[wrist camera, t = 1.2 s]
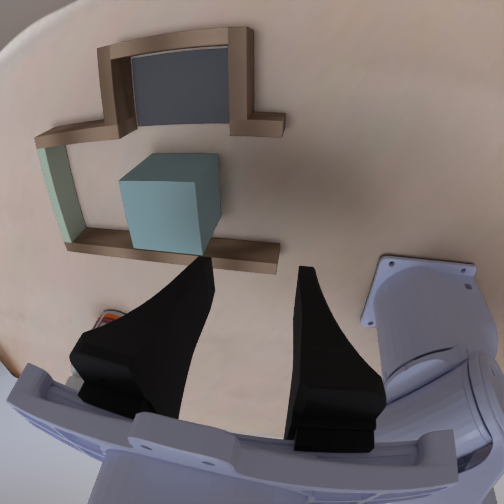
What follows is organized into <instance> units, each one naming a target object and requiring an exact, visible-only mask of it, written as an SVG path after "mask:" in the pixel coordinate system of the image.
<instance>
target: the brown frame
mask: <svg viewBox="0 0 504 504" xmlns="http://www.w3.org/2000/svg"><path fill="white" fill-rule="evenodd" d="M227 45H228V72H229V115H230V136H254V137H275V138H282V137H283V133H284V130H285V113H271V112H254V30H252V29H250V28H248V27H227V28H212V29H201V30H191V31H183V32H175V33H168V34H162V35H156V36H150V37H145V38H139V39H134V40H130V41H125V42H121V43H116V44H112V45H108V46H104V47H100V48H97V56H98V69H99V79H100V89H101V98H102V106H103V114H104V120H97V121H90V122H84V123H78V124H72V125H66V126H61V127H55V128H52V129H50V130H48V131H46V132H44V133H42V134H40V135H38V136H37V137H35V143H36V148H37V149H40V148H47V147H53V146H60V145H68V144H75V143H84V142H93V141H103V140H114V139H120V138H122V137H124V136H125V135H127V134H129V133H131V132H132V131H134V130H136V129H137V125H136V117H135V108H134V98H133V88H132V76H131V63H130V57H132V56H137V55H143V54H149V53H155V52H162V51H169V50H177V49H186V48H197V47H209V46H227ZM64 243H65V246H66V248H67V251H72V252H80V253H88V254H95V255H103V256H111V257H120V258H128V259H136V260H145V261H153V262H162V263H171V264H179V265H188V266H189V265H190V264H191V263H192V262H193V261H194V260H195V259H196V258H197V257H198V256H204V257H212V266H213V268H216V269H225V270H235V271H245V272H255V273H265V274H275V275H276V271H277V265H278V258H279V248H280V244H277V243H266V242H255V241H243V240H232V239H220V238H211V239H210V241H209V243H208V245H207V247H206V249H205V251H204V253H203V255H195V254H185V253H175V252H166V251H156V250H147V249H137V248H134V247H133V243H132V239H131V235H130V231H122V230H109V229H96V228H85V229H84V230H83V231H82V232H81V234H80V235H79V236H78V237H77V238H76V239H75V240H74V241H73V242H72V243H69V242H64Z"/></svg>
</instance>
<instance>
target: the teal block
mask: <svg viewBox="0 0 504 504" xmlns="http://www.w3.org/2000/svg"><path fill="white" fill-rule="evenodd" d="M119 186H120V191H121V196H122V201H123V205H124V210H125V214H126V218H127V223H128V227H129V231H130V235H131V239H132V243H133V247H134V248H137V249H147V250H156V251H166V252H175V253H185V254H195V255H203V253H204V251H205V249H206V247H207V245H208V243H209V241H210V239H211V237H212V234H213V232H214V230H215V228H216V226H217V224H218V222H219V220H220V218H221V204H220V186H219V166H218V154H215V153H155V154H151V155H150V156H149V157H147V158H146V159H145V160H144V161H142V162H141V163H140V164H139V165H137V166H136V167H135V168H134V169H132V170H131V171H130V172H129V173H127V174H126V175H125V176H124V177H123V178H121V179H120V180H119Z"/></svg>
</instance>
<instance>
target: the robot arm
mask: <svg viewBox="0 0 504 504" xmlns="http://www.w3.org/2000/svg"><path fill="white" fill-rule="evenodd" d="M392 261H393V263H391V264H390V262H392ZM463 268H464V269H463ZM462 269H463V270H462ZM476 270H477V269H476V267H475V265H473V264H463V263H454V262H444V261H434V260H424V259H414V258H405V257H394V256H383V257H381V258H380V260H379V264H378V267H377V270H376V274H375V277H374V280H373V283H372V287H371V290H370V293H369V296H368V299H367V302H366V305H365V308H364V311H363V314H362V317H361V320H360V324H361V325H362V326H368V327H376V328H377V335H378V342H379V350H380V359H381V368H382V377H383V381H382V378H381V376H379V375H378V374H377V373H376V372H375V371H374V370H373V369H372V368H371V367H370V366H369V365H368V364H367V363H366V362H365V361H364V359H363V358H362V357H361V356H360V355H359V354H358V352H357V351H356V350H355V348H354V347H353V346H352V345H351V343H350V342H349V341H348V339H347V338H346V336H345V335H344V333H343V332H342V330H341V329H340V327H339V325H338V324H337V322H336V320H335V319H334V317H333V315H332V313H331V311H330V309H329V307H328V305H327V303H326V300H325V298H324V296H323V293H322V291H321V288H320V285H319V282H318V279H317V276H316V271H315V269H314V268H313V267H308V266H299V272H298V280H297V288H296V297H295V306H294V316H293V372H292V381H291V389H290V397H289V405H288V413H287V420H286V427H285V434H284V440H282V439H273V438H264V437H256V436H249V435H242V434H236V433H230V432H227V431H225V430H222V429H218V428H215V427H211V426H206V425H201V424H196V423H192V422H187V421H183V420H178V418H179V412H180V407H181V402H182V397H183V392H184V387H185V383H186V379H187V375H188V371H189V367H190V363H191V359H192V356H193V353H194V350H195V347H196V344H197V342H198V339H199V337H200V334H201V332H202V329H203V327H204V324H205V322H206V319H207V317H208V314H209V312H210V309H211V305H212V301H213V297H214V293H215V285H214V276H213V266H212V257H204V256H198V257H197V258H196V259H195V260H194V261H193V262H192V263H191V264H190V265H189V266H188V267H187V268H185V269H184V270H183V271H182V272H181V273H180V274H179V275H178V276H177V277H176V278H175V279H174V280H173V281H171V282H170V283H169V284H168V285H167V286H166V287H165V288H163V289H162V290H161V291H160V292H158V293H157V294H156V295H155V296H153V297H152V298H151V299H149V300H148V301H146V302H145V303H144V304H142V305H141V306H139V307H137V308H136V309H134V310H132V311H131V312H129V313H127V314H125V315H124V316H122V317H120V318H118V319H116V320H114V321H112V322H110V323H107V324H105V325H103V326H100V327H98V328H95V329H92V330H90V331H87V332H84V333H83V334H82V335H81V337H80V338H79V340H78V342H77V343H76V345H75V347H74V348H73V350H72V352H71V353H70V356H69V358H70V362H71V364H72V365H73V367H74V368H75V370H76V371H77V373H78V374H79V375H80V377H81V378H82V379H83V381H84V383H83V385H82V387H81V389H80V391H78V390H75V389H73V388H70V387H68V386H65V385H63V384H61V383H58V382H56V381H54V380H53V379H52V377H51V376H50V375H49V374H48V373H47V372H46V371H45V370H43V369H41V368H39V367H37V366H35V365H33V364H30V363H28V364H27V365H26V367H25V369H24V370H23V372H22V374H21V375H20V377H19V379H18V380H17V382H16V384H15V386H14V388H13V389H12V391H11V393H10V394H9V396H8V398H7V400H6V401H7V403H8V404H9V405H10V406H11V407H13V409H15V410H16V411H17V412H18V413H19V414H20V415H21V416H23V417H24V418H25V419H26V420H27V421H28V422H29V423H31V424H32V425H33V426H35V427H37V428H38V429H40V430H42V431H43V432H45V433H47V434H49V435H51V436H52V437H54V438H56V439H58V440H60V441H61V442H63V443H65V444H67V445H69V446H71V447H72V448H75V449H77V450H78V451H80V452H82V453H84V454H86V455H88V456H90V457H93V458H94V459H97V460H99V461H101V462H103V463H102V466H101V468H100V471H99V474H98V476H97V479H96V482H95V485H94V487H93V490H92V493H91V496H90V498H89V501H88V504H386V503H390V504H497V501H496V496H495V492H494V488H493V487H494V485H495V484H496V483H497V481H498V480H499V479H500V478H501V476H502V475H503V473H504V375H503V373H502V371H501V369H500V367H499V365H498V364H497V362H496V361H495V356H496V352H497V345H498V336H497V329H496V325H495V322H494V319H493V317H492V315H491V313H490V310H489V308H488V306H487V304H486V302H485V299H484V297H483V295H482V293H481V291H480V289H479V287H478V285H477V283H476V281H475V279H474V275H475V273H476Z"/></svg>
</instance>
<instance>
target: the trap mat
mask: <svg viewBox="0 0 504 504" xmlns="http://www.w3.org/2000/svg"><path fill="white" fill-rule="evenodd" d="M132 66H133V79H134V91H135V101H136V111H137V119H138V126H152V125H171V124H204V123H230V115H229V72H228V48H224V49H207V50H195V51H184V52H175V53H167V54H160V55H153V56H147V57H141V58H135V59H132Z"/></svg>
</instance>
